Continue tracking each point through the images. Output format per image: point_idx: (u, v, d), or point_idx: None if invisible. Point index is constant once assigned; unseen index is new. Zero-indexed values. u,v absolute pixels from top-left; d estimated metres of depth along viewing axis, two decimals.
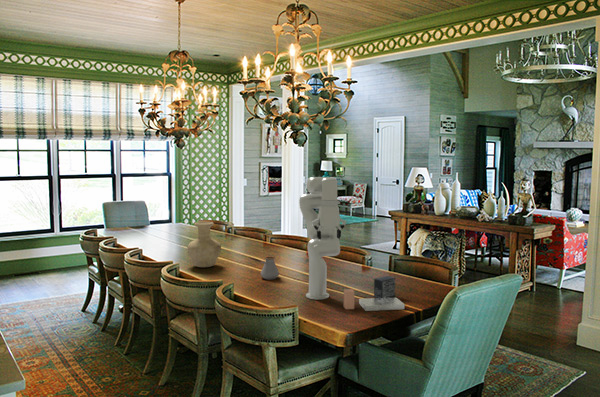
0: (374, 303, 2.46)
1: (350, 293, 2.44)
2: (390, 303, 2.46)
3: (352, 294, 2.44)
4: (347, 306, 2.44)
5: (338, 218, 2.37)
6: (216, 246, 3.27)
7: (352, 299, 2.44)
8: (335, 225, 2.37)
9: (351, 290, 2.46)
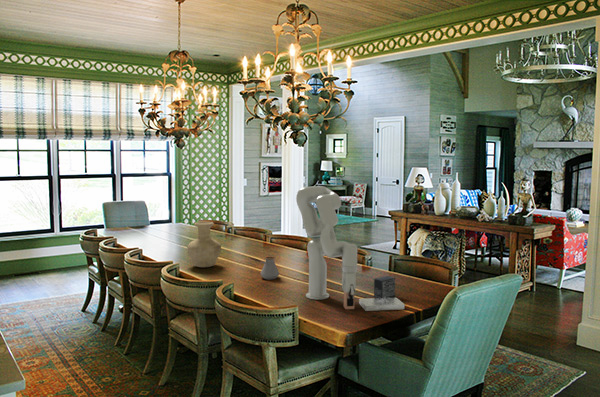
0: (374, 303, 2.46)
1: (350, 293, 2.44)
2: (390, 303, 2.46)
3: None
4: (347, 306, 2.44)
5: None
6: (216, 246, 3.27)
7: None
8: None
9: None
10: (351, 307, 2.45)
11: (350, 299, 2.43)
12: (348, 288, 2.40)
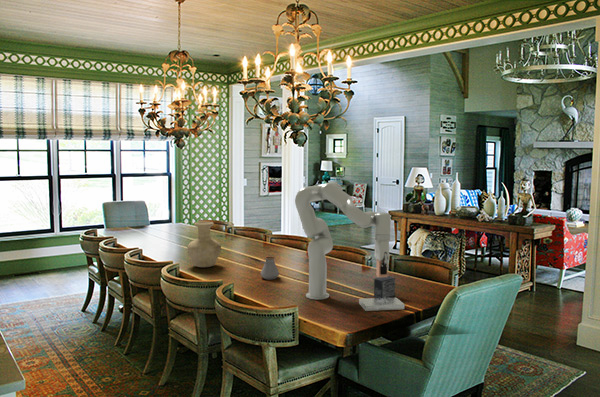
0: (374, 303, 2.46)
1: None
2: (390, 303, 2.46)
3: None
4: (380, 274, 2.45)
5: None
6: (216, 246, 3.27)
7: None
8: None
9: None
10: (384, 275, 2.46)
11: (383, 267, 2.44)
12: (382, 256, 2.42)
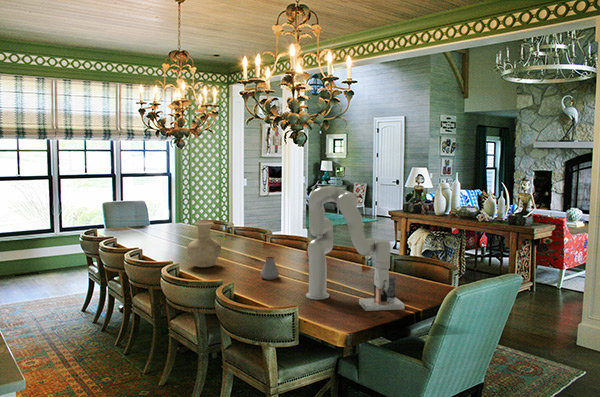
0: (374, 303, 2.46)
1: None
2: (390, 303, 2.46)
3: None
4: None
5: None
6: (216, 246, 3.27)
7: None
8: None
9: (383, 289, 2.48)
10: None
11: (384, 295, 2.44)
12: (381, 284, 2.43)
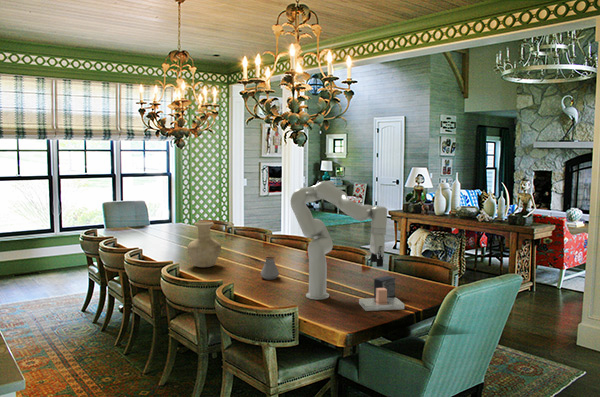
0: (374, 303, 2.46)
1: (383, 292, 2.47)
2: (390, 303, 2.46)
3: (385, 293, 2.47)
4: None
5: None
6: (216, 246, 3.27)
7: (385, 298, 2.47)
8: None
9: (384, 289, 2.48)
10: None
11: (380, 259, 2.43)
12: (377, 249, 2.43)
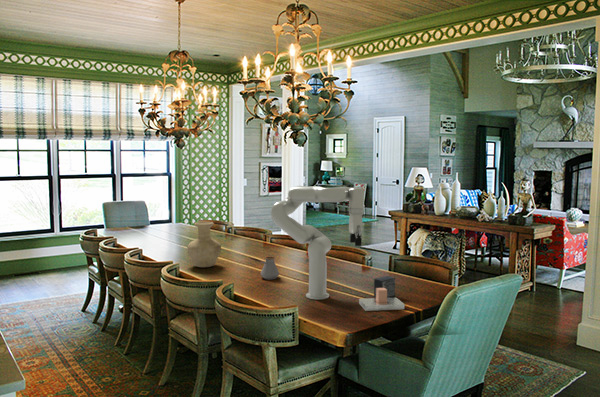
0: (374, 303, 2.46)
1: (383, 292, 2.47)
2: (390, 303, 2.46)
3: (385, 293, 2.47)
4: None
5: None
6: (216, 246, 3.27)
7: (385, 298, 2.47)
8: None
9: (384, 289, 2.48)
10: None
11: (358, 239, 2.50)
12: (355, 229, 2.50)
